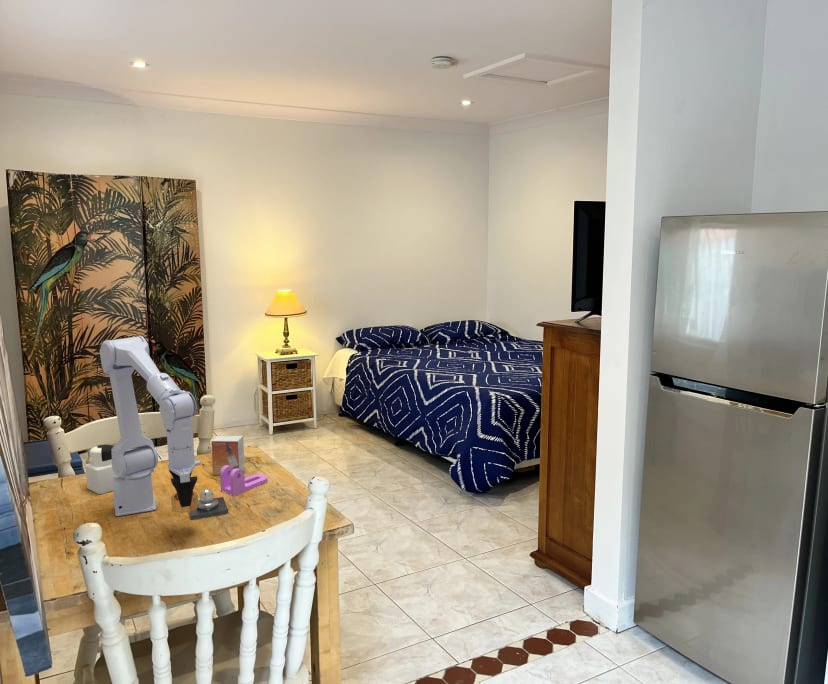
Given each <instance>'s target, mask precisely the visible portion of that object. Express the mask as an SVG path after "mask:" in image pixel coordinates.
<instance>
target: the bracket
mask: <svg viewBox="0 0 828 684" xmlns="http://www.w3.org/2000/svg"><path fill="white" fill-rule="evenodd" d="M227 471H228V473H227ZM219 481H220V491H221V492H222V491H224V492H226V493H225V494H227V493H229V494H228V495H230V494H231V495H230V496H233V495H236V496H238V495H240V494H239V493H241V494H242V492H243V493H245V492H244V491H246V492H248V491H251V490H253V489H255V487H256V488H258V487H261V486H263V485H265V483H266V484H267V483H268V476H267V475H266V474H262V473H258V474H252V475H248V476H247V477H245V472H244V470H241V469H238V468H236V469H234V468H233V467H232V466H228V465H225V466H223V467H222V469H221V471H220V475H219ZM260 485H261V486H260ZM257 486H258V487H257ZM250 489H251V490H250ZM247 490H248V491H247ZM224 492H223V493H224ZM237 494H238V495H237Z"/></svg>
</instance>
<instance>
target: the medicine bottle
mask: <svg viewBox="0 0 828 684" xmlns="http://www.w3.org/2000/svg"><path fill="white" fill-rule="evenodd" d="M113 447H114V445H112V444H100V445H95V446H93V447H92V448H91V449H90V452H89V453H90V463H87V464H85V467H84V468H85V478H86V487H87V490H90V491H91V492H93V493H96V494H97V495H104V494H106V493H109V492H113V478H114V477H118V476H116V475H115V473H114V471H113V469H112V463H111V462H112V450H111V449H112V448H113Z"/></svg>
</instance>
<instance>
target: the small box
mask: <svg viewBox="0 0 828 684" xmlns="http://www.w3.org/2000/svg"><path fill="white" fill-rule="evenodd" d="M244 441H245V440H244V435H216V436H215V437H214V438H213V439H212V440H211V464H212V467H211V468H212V476H220V471H221V469H222V467H223V466H225V465H228V466H232V467H233V468H234V469H236V468H238V469H241V470H243V471H244V470H245V468H246V467H245V443H244ZM227 473H228V471H227Z"/></svg>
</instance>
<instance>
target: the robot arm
mask: <svg viewBox="0 0 828 684" xmlns="http://www.w3.org/2000/svg"><path fill="white" fill-rule="evenodd" d="M99 355H100V356H99V357H100V362H101V368H102V370H103V373H104V374H105V375H106V374H107V375H109V380H110V381H109V382H110V386H111V392H112V396H113V402H114V407H115V413H116V419H117V425H118V429H119V434H120V435H119V436H120V439H119V440H118V441H117V442H116V443H115V444H114V445H113V448H112V449H111V450H112V462H111V463H112V469H113V471H114V473H115V475H116V476H118V477H114V478H113V491H112V492H113V499H112V501H113V503H112V505H113V507H114V511H115V512H114V513H115V516H116V517H120V516H121V517H122V516H126V515H133V514H139V513H140V514H141V513H145V512H151V511H156V510H157V506H156V505H157V504H156V498H155V497H154V491H153V488H154V487H153V478H152V473H154V472H155V468H156V467H157V466H158V463H159V456H158V452H157V450H156V449H155V445H154V442H153V440H152V439H151V438H149V437H147V436H145V435H143V433H142V428H141V422H140V416H139V411H138V405H137V400H136V395H135V390H134V383H133V378H132V374H133V373H134V371H136V372H137V373H138V374H139V375H140V376H141V378H143V379H144V380H145V381H146V389H147V391H148V393H149V394H150V395H151V396H152V398H153V399H154V400H155V402H156V403H157V404H158V405H159V409H158V410H159V414H160V417H161V418H162V422H163V423H162V424H163V427H164V429H166V441H167V454H168V457H167V459H168V465H167V469H168V472H169V474H170V475H171V476H172V478H170V483H171V484H172V486H173V488H174V489H175V491H176V493H177V494H178V498H179V502H180V505H181V507H188V506H191V502H192V494H193V491H194V489H195V485H196V484H197V482H198V477H197V476H195V475H194V476H192V473H193V471H194V469H195V468H196V467H197V466H200V465H201V460H199V459H197V460H196V459H195V457H196V456H195V444H194V442H195V441H194V429H193V417H194V416H195V415H196V414H197V408H198V407H197V402H196V399H195V397H194V396H193V395H194V394H192V393H191V392H190V391H185V390H184V389H183V390H181V388H180V387H179V386H178V385H177V383H176V382H175V381H174V380H173V378H171V376H170V375H169V374H167V372H161V371H160V370H159V369H158V367H157V365H156V363H155V362H154V361H153V360H152V358H151V356H150V348H149V344H148V341H147V339H146V338H144V337H143V336H142V335H137V336H133V337H126V338H125V337H124V338H120V339H119V338H118V339H112V340H110V339H107V340H104V341H103V342H102V344H101V345H100V349H99Z"/></svg>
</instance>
